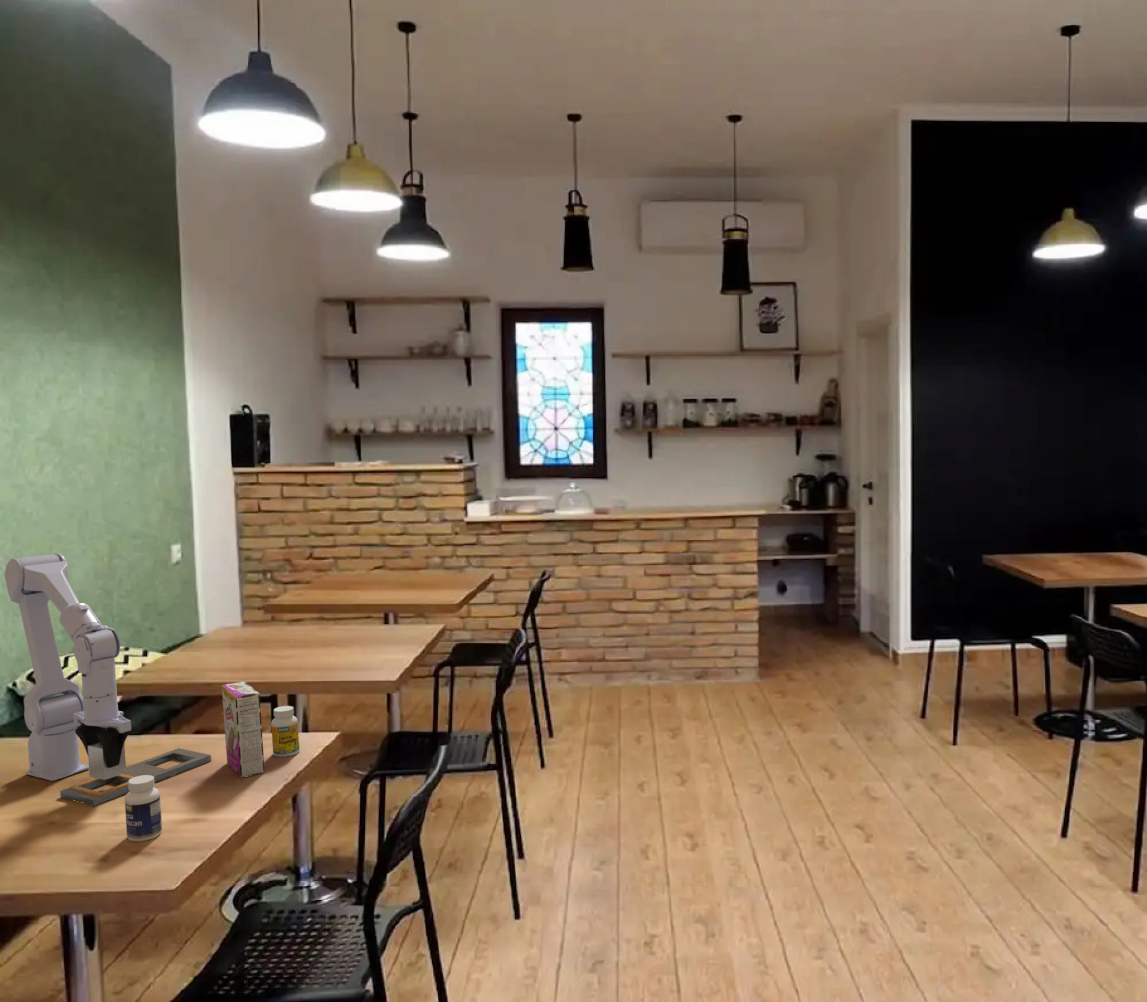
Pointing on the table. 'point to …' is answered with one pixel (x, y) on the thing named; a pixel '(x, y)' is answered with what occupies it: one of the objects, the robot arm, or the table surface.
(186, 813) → the table surface
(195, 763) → the rail
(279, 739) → the supplement bottle
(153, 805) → the pill bottle
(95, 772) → the metal block with knob
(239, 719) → the candy bar box
